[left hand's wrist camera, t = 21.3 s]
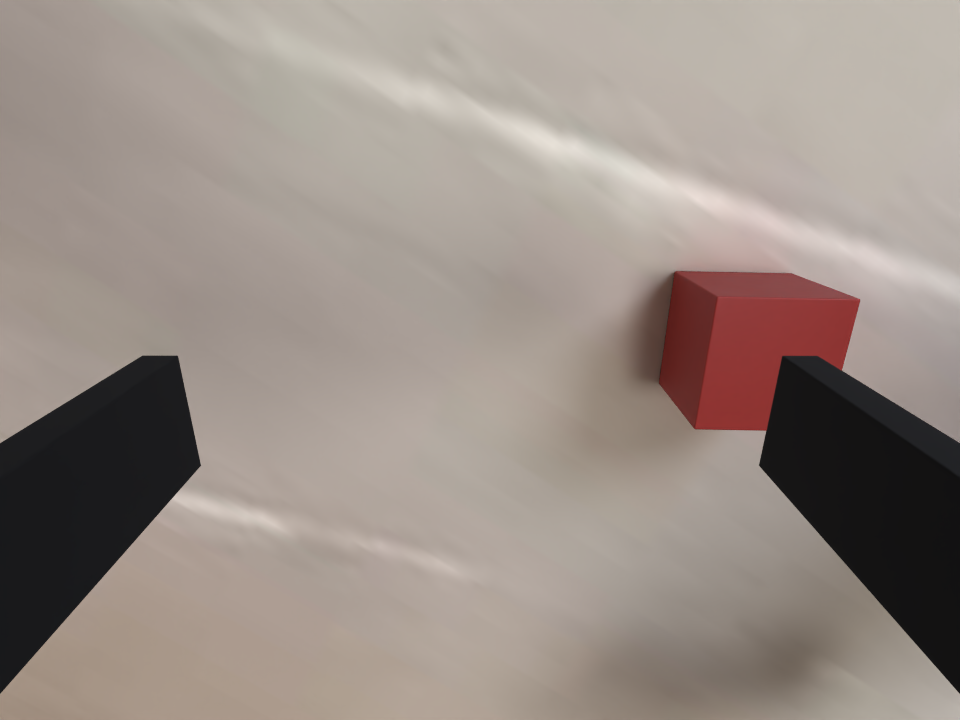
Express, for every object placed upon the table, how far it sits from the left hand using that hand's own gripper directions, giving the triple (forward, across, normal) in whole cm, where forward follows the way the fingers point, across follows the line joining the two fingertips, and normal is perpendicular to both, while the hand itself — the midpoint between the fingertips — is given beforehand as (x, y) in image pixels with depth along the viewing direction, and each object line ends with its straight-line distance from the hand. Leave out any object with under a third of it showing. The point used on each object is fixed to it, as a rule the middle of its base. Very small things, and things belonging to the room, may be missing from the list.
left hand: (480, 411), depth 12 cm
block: (+12, +11, -2) cm, 16 cm away
